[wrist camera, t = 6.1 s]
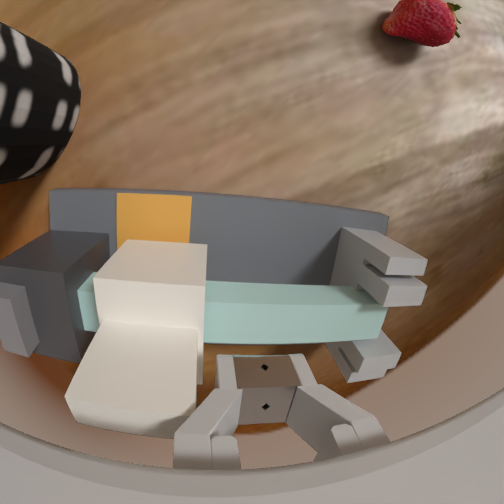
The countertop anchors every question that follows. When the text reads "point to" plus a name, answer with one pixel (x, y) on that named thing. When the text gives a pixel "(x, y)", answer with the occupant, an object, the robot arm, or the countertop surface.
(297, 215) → the board
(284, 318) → the pale teal rod
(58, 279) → the block
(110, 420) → the sleeve
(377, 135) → the countertop surface
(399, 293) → the gray notched block
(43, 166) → the white-spotted black cylinder
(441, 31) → the fruit
